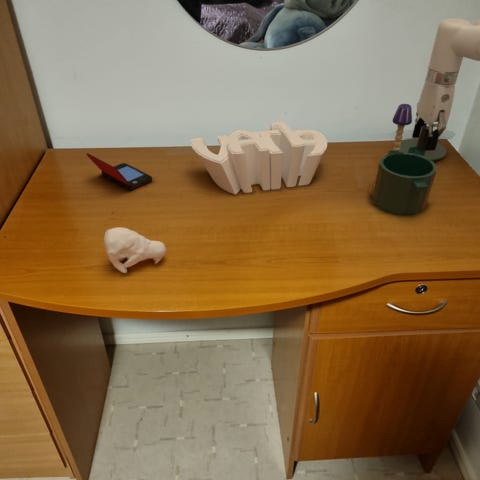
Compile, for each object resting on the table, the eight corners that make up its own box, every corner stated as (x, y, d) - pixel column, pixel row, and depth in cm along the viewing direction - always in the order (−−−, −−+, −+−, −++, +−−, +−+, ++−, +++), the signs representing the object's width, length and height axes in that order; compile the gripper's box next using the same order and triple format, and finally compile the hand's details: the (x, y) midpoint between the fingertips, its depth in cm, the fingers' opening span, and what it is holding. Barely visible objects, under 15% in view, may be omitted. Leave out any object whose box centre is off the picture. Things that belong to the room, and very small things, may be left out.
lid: (432, 140, 142) (439, 116, 137) (453, 161, 132) (461, 136, 127) (388, 143, 140) (393, 118, 135) (405, 164, 131) (412, 139, 126)
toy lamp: (380, 171, 128) (394, 107, 116) (383, 164, 131) (397, 100, 119) (398, 175, 126) (414, 110, 115) (401, 167, 130) (417, 103, 118)
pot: (409, 181, 124) (418, 146, 117) (438, 219, 111) (451, 181, 104) (361, 184, 123) (368, 148, 116) (386, 223, 110) (395, 185, 103)
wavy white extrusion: (199, 198, 118) (197, 157, 110) (190, 167, 129) (187, 128, 122) (335, 184, 123) (341, 143, 116) (315, 155, 134) (319, 117, 127)
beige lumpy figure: (101, 221, 94) (163, 218, 97) (106, 257, 100) (164, 253, 103) (103, 239, 90) (167, 236, 93) (107, 276, 95) (168, 271, 98)
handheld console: (154, 181, 124) (150, 153, 119) (120, 196, 118) (114, 168, 113) (124, 165, 130) (120, 138, 125) (91, 179, 124) (84, 152, 119)
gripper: (471, 87, 116) (449, 156, 129) (441, 64, 129) (423, 130, 141) (442, 88, 116) (422, 158, 128) (414, 65, 128) (398, 131, 140)
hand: (423, 143), depth 134 cm, fingers open, 7 cm apart
